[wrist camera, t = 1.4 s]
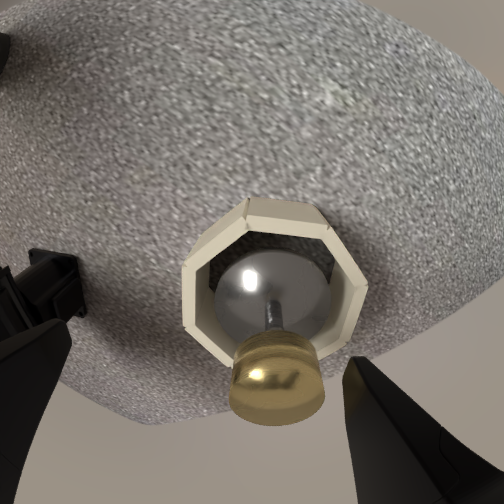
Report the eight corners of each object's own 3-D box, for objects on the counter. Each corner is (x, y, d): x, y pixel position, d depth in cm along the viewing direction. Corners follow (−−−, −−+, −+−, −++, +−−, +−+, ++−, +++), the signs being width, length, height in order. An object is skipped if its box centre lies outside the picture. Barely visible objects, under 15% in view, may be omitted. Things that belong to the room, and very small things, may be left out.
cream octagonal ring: (198, 344, 24) (186, 384, 19) (202, 191, 19) (182, 208, 14) (317, 355, 24) (325, 396, 19) (356, 211, 19) (383, 233, 14)
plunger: (214, 337, 18) (192, 433, 11) (219, 240, 16) (184, 324, 8) (315, 346, 18) (333, 441, 11) (340, 254, 16) (390, 340, 8)
